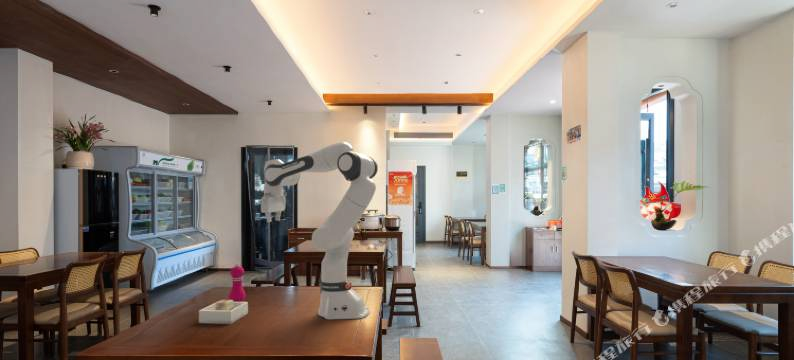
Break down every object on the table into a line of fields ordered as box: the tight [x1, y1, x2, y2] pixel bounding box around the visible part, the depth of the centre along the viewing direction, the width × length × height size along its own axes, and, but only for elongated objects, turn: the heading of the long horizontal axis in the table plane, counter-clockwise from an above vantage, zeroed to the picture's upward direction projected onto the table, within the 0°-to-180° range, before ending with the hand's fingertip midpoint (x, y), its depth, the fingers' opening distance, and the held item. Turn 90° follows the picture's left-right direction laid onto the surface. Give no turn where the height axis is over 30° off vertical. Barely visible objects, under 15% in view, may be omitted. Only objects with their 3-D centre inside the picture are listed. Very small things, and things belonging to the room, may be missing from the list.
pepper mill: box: [228, 262, 246, 302], centre depth 191 cm, size 7×7×20 cm
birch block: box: [215, 299, 233, 311], centre depth 173 cm, size 5×5×6 cm
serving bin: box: [198, 300, 249, 325], centre depth 173 cm, size 14×14×5 cm
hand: (273, 221), depth 197 cm, fingers open, 8 cm apart
